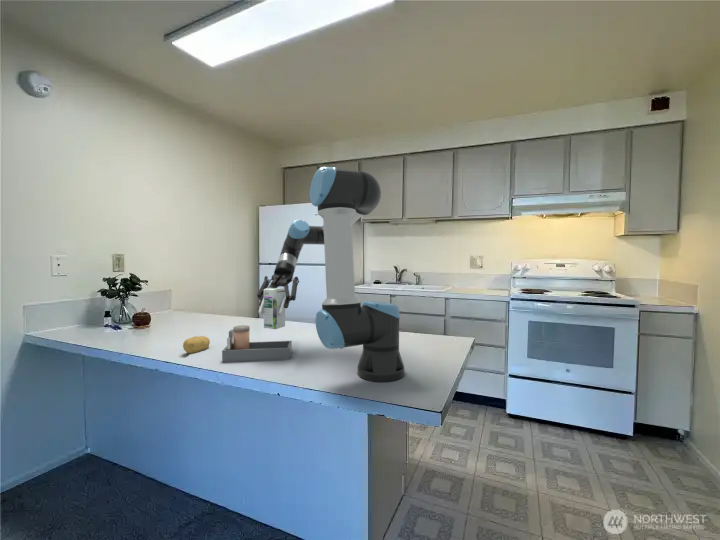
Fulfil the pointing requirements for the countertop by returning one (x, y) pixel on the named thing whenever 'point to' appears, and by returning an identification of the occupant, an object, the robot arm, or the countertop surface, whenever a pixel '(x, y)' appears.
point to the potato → (196, 344)
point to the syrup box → (273, 308)
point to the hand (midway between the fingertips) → (270, 314)
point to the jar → (241, 337)
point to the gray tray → (259, 352)
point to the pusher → (230, 340)
